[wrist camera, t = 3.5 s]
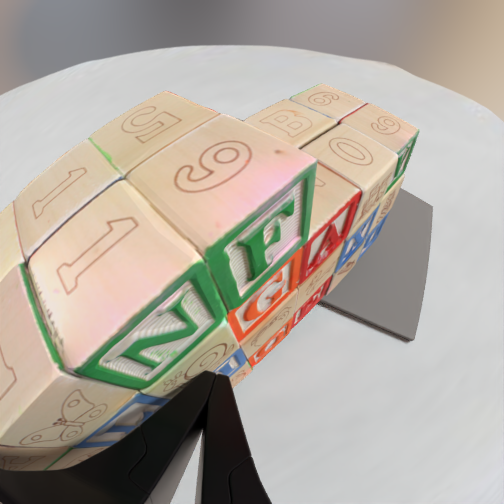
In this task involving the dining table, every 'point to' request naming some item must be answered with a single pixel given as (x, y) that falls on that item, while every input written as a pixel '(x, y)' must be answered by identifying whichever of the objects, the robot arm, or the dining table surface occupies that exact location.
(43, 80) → the dining table surface
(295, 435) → the dining table surface
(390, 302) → the mat
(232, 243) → the stack of blocks
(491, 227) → the dining table surface
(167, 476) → the robot arm
